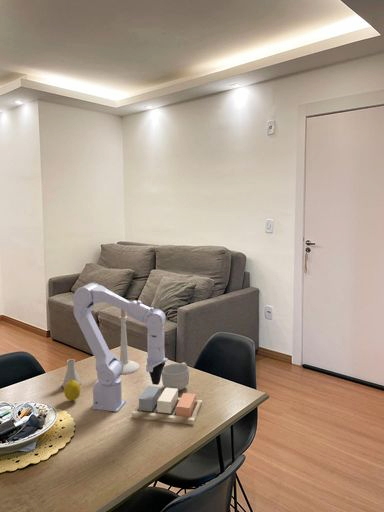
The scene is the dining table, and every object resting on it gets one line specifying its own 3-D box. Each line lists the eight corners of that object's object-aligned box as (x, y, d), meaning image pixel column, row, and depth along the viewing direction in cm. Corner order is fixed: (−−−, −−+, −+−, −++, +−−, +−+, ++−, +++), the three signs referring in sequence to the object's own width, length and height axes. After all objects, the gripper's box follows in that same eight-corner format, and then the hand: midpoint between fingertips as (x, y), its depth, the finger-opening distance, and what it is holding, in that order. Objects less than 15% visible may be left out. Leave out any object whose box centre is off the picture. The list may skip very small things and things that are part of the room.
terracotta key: (176, 417, 135) (176, 406, 135) (183, 403, 145) (183, 392, 144) (189, 419, 134) (189, 407, 134) (195, 404, 144) (195, 394, 143)
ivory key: (157, 411, 136) (157, 400, 136) (165, 398, 146) (165, 387, 146) (170, 413, 135) (170, 402, 135) (178, 399, 145) (177, 388, 145)
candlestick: (110, 375, 169) (108, 305, 166) (108, 364, 182) (106, 298, 178) (141, 372, 173) (139, 303, 169) (137, 361, 185) (136, 296, 181)
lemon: (76, 405, 144) (75, 384, 143) (61, 404, 146) (60, 382, 144) (83, 398, 150) (82, 377, 149) (69, 396, 151) (68, 376, 150)
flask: (78, 389, 157) (77, 364, 156) (59, 389, 157) (58, 364, 156) (83, 381, 164) (82, 357, 163) (65, 381, 164) (64, 357, 163)
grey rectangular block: (139, 409, 138) (138, 398, 137) (148, 396, 147) (148, 385, 147) (151, 411, 137) (151, 400, 136) (160, 397, 146) (160, 386, 146)
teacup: (177, 396, 151) (177, 376, 150) (155, 388, 157) (155, 369, 156) (199, 383, 162) (199, 364, 161) (178, 376, 168) (178, 358, 167)
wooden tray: (131, 417, 136) (131, 413, 136) (145, 397, 150) (145, 394, 150) (193, 424, 132) (193, 420, 132) (202, 404, 145) (202, 400, 145)
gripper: (160, 354, 131) (160, 394, 133) (172, 339, 145) (172, 376, 147) (140, 352, 133) (140, 392, 134) (153, 338, 147) (153, 374, 148)
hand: (155, 383), depth 141 cm, fingers closed
